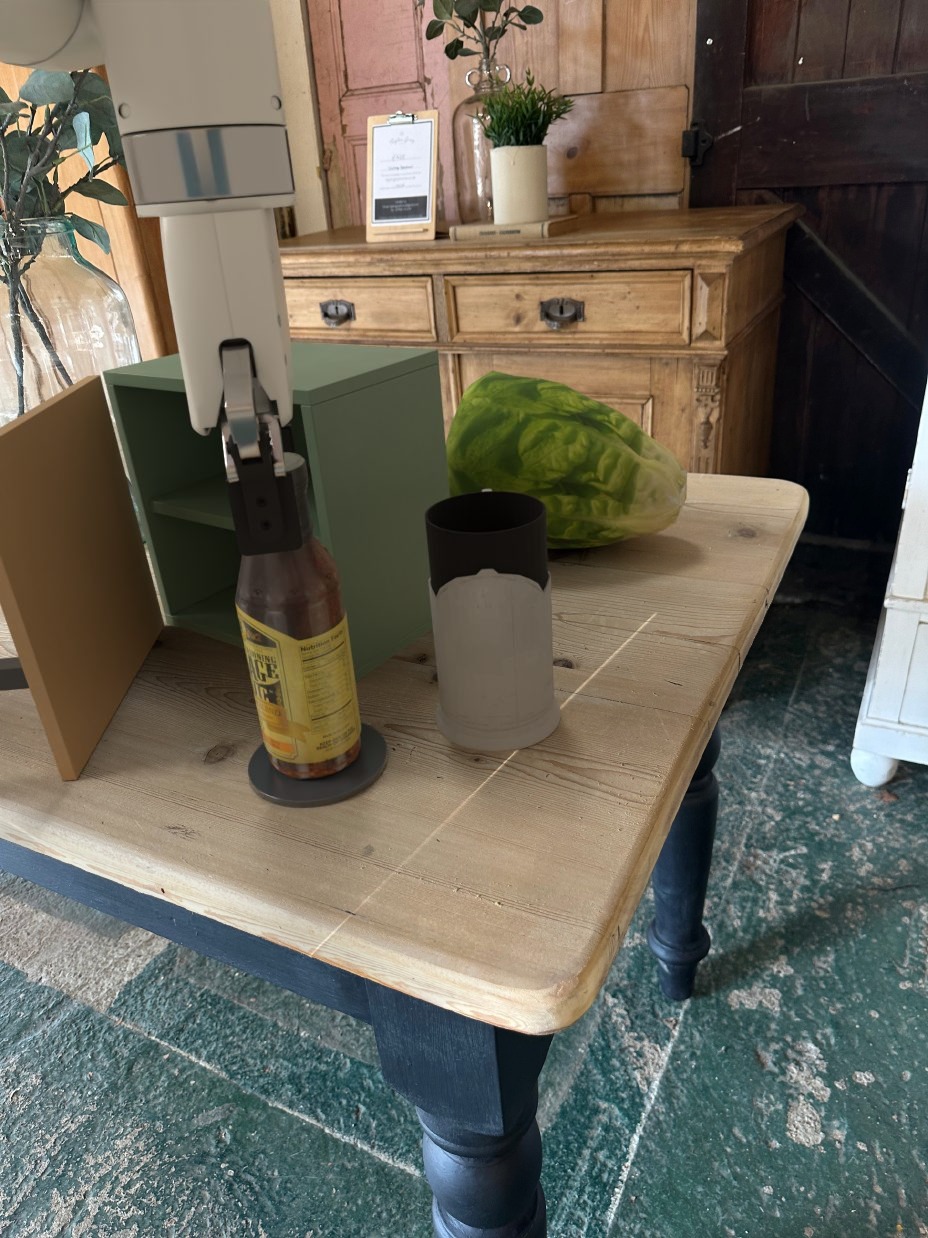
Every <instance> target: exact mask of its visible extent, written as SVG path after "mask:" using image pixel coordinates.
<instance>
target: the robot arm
mask: <svg viewBox="0 0 928 1238" xmlns="http://www.w3.org/2000/svg"><path fill="white" fill-rule="evenodd" d="M272 14H273V13H272V6H271V1H270V0H0V63H2V64H6V65H10V66H15V67H21V68H26V69H31V70H37V71H43V72H50V73H51V72H52V73H53V72H54V73H69V72H78V71H85V70H89V69H93V68H96V67H101V66H103V65H104V67H105V72H106V76H107V81H108V86H109V89H110V94H111V100H112V104H113V110H114V114H115V119H116V123H117V127H118V131H119V135H120V136H121V139H120V141H121V146H122V150H123V155H124V160H125V165H126V169H127V173H128V177H129V178H128V179H129V183H130V187H131V191H132V197H133V201H134V204H135V210H136V215H137V218H158V217H159V229H160V239H161V247H162V248H161V249H162V256H163V257H162V258H163V263H164V271H165V277H166V284H167V289H168V296H169V298H168V299H169V302H170V309H171V315H172V321H173V326H174V331H175V336H176V343H177V349H178V353H179V354H180V360H181V365H182V371H183V376H184V382H185V388H186V394H187V400H188V406H189V412H190V418H191V423H192V427H193V429H194V430H195V431H196V432H198V433H199V434H201V435H202V436H205V435H209V433H210V430H211V427H216V425H217V422H218V418H219V415H220V421H221V422H220V425H221V430H222V439H223V447H224V456H225V465H226V472H227V477H228V478H226V481H225V482H226V487H227V492H228V497H229V502H230V507H231V512H232V517H233V522H234V527H235V532H236V537H237V542H238V547H239V551H240V553H241V554H242V555H244V556H254V555H262V554H270V553H277V552H285V551H293V550H298V549H300V548H301V547H302V545H303V537H302V531H301V525H300V519H299V513H298V507H297V500H296V494H295V488H294V482H293V476H292V471H286V467H285V459H284V452H290V453H295V454H296V452H295V445H294V439H293V433H292V426H291V424H287V423H288V422H289V421H290V420H291V419H292V414H293V368H292V351H291V342H292V341H291V339H292V338H291V330H290V329H291V328H290V320H289V312H288V303H287V297H286V288H285V281H284V272H283V265H282V260H281V253H280V246H279V245H280V244H279V239H278V232H277V224H276V219H275V212H274V209H275V208H276V209H277V208H285V207H295V206H299V202H298V194H297V189H296V188H297V187H296V181H295V175H294V167H293V166H294V165H293V159H292V152H291V144H290V138H289V129H288V128H287V126H288V125H287V118H286V110H285V104H284V97H283V88H282V81H281V73H280V67H279V66H280V65H279V58H278V51H277V43H276V35H275V29H274V28H275V27H274V24H273V23H274V21H273V15H272ZM271 452H272V454H271Z"/></svg>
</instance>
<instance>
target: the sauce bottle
mask: <svg viewBox="0 0 928 1238" xmlns="http://www.w3.org/2000/svg"><path fill="white" fill-rule="evenodd" d="M271 454H272V452H271ZM284 459H285V467H286V471H292V476H293V482H294V488H295V494H296V500H297V507H298V513H299V519H300V525H301V531H302V537H303V545H302V547H301V548H300V549H298V550H293V551H285V552H277V553H270V554H262V555H254V556H244V555H242V559H241V566H240V572H239V578H238V584H237V591H236V596H235V603H236V608H237V613H238V619H239V623H240V628H241V633H242V637H243V642H244V648H245V649H244V648H243V649H244V653H245V658H246V661H247V668H248V671H249V678H250V684H251V687H252V691H253V696H254V701H255V705H256V711H257V715H258V720H259V726H260V729H261V734H262V739H263V742H264V744H265V747H266V749H267V750H268V755H269V758H270V761H271V763H272V764H273V765H274V766H275V768H276V769H278V770H279V771H280V772H282V773H284V774H286V775H287V776H288V777H291V778H293V779H300V780H302V779H306V778H321V777H325V776H327V775H331V774H334V773H336V772H339V771H341V770H342V769H344V768H345V767H348V766H349V765H350V764H351V763H352V762H353V761H354V760H355V759H357V756H358V753H359V751H360V745H361V737H360V733H361V722H362V721H361V715H360V707H359V699H358V691H357V684H356V683H357V682H356V683H355V675H354V668H353V660H352V653H351V646H350V638H349V630H348V623H347V615H346V609H345V606H344V605H343V599H342V594H341V587H340V576H339V571H338V569H337V566H336V563H335V561H334V559H333V558H332V556H331V555H330V554H329V552H328V550H327V548H326V547H323V546H322V545H321V544H320V542H319V541H318V540H317V539H316V537H315V536H314V535H313V534H312V533H313V530H314V525H313V522H312V520H311V518H310V511H309V504H308V498H307V486H308V481H309V479H308V473H307V467H306V463H305V459H304V458H302V457H301V456H300V455H298V454H295V453H290V452H284Z"/></svg>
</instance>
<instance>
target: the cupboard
mask: <svg viewBox="0 0 928 1238" xmlns="http://www.w3.org/2000/svg"><path fill="white" fill-rule="evenodd" d="M291 351H292V368H293V414H292V419H291V420H290V421H289V422H288V423H287V424H291V426H292V433H293V439H294V445H295V452H296V454H298V455H300V456H301V457H302V458H304V459H305V463H306V467H307V473H308V479H309V481H308V486H307V498H308V504H309V511H310V518H311V520H312V522H313V525H314V530H313V533H312V534H313V535H314V536H315V537H316V539H317V540H318V541H319V542H320V544H321V545H322V546H323V547H326V548H327V550H328V552H329V554H330V555H331V556H332V558H333V559H334V561H335V563H336V566H337V569H338V571H339V576H340V587H341V594H342V599H343V605H344V606H345V609H346V615H347V623H348V630H349V638H350V646H351V653H352V660H353V668H354V675H355V683H357V682H359V681H360V680H361V679H363V678H364V677H366V676H368V675H369V674H370V673H372V672H373V671H374V670H376V669H378V668H379V667H381V665H383V664H385V663H386V662H387V661H389V660H390V659H391V658H393V657H394V656H396V655H397V654H398V653H400V652H401V651H403V650H404V649H406V648H407V647H408V646H410V645H412V644H413V643H414V642H416V641H417V640H418V639H420V638H421V637H423V636H424V635H425V634H427V633H428V632H430V631H431V630H433V625H432V614H431V604H430V594H429V584H428V579H429V578H431V575H430V565H429V554H428V544H427V533H426V523H425V513H426V511H427V510H428V509H429V507H431V506H432V505H434V504H435V503H437V502H439V501H441V500H444V499H447V498H450V493H449V481H448V468H447V456H446V432H445V431H446V430H445V421H444V420H445V418H444V408H443V395H442V383H441V382H442V381H441V370H440V356H439V350H438V348H436V349H435V348H417V347H401V346H400V347H397V346H382V345H381V346H378V345H360V344H359V345H358V344H344V343H343V344H342V343H323V342H322V343H321V342H302V341H291ZM102 376H103V380H104V384H105V388H106V391H107V394H108V399H109V402H110V403H109V404H110V408H111V411H112V414H113V415H112V416H113V418H114V422H115V426H116V431H117V434H118V437H119V441H120V446H121V450H122V453H123V459H124V462H125V465H126V469H127V473H128V477H129V480H130V485H131V489H132V493H133V496H134V500H135V505H136V508H137V512H138V517H139V520H140V524H141V528H142V533H143V536H144V540H145V543H146V547H147V551H148V555H149V559H150V564H151V567H152V571H153V575H154V578H155V582H156V587H157V591H158V594H159V598H160V603H161V606H162V610H163V613H164V618H165V621H166V623H167V624H169V625H171V626H175V627H178V628H181V629H183V630H186V631H189V632H193V633H196V634H198V635H202V636H205V637H207V638H211V639H214V640H217V641H220V642H223V643H225V644H229V645H232V646H234V647H238V648H240V649H243V650H245V648H244V642H243V637H242V633H241V628H240V623H239V619H238V613H237V608H236V603H235V596H236V591H237V584H238V578H239V572H240V566H241V559H242V554H241V553H240V551H239V547H238V542H237V537H236V532H235V527H234V522H233V517H232V512H231V507H230V502H229V497H228V492H227V487H226V482H225V481H226V478H228V477H227V472H226V465H225V456H224V447H223V439H222V430H221V425H220V422H221V421H220V415H219V418H218V422H217V425H216V427H211V430H210V433H209V435H205V436H202V435H201V434H199V433H198V432H196V431H195V430H194V429H193V427H192V423H191V418H190V412H189V406H188V400H187V394H186V388H185V382H184V376H183V371H182V365H181V360H180V354H179V352H177V353H173V354H170V355H165V356H161V357H157V358H152V359H148V360H144V361H140V362H136V363H131V364H128V365H123V366H119V367H113V368H110V369H106V370H103V371H102Z"/></svg>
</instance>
